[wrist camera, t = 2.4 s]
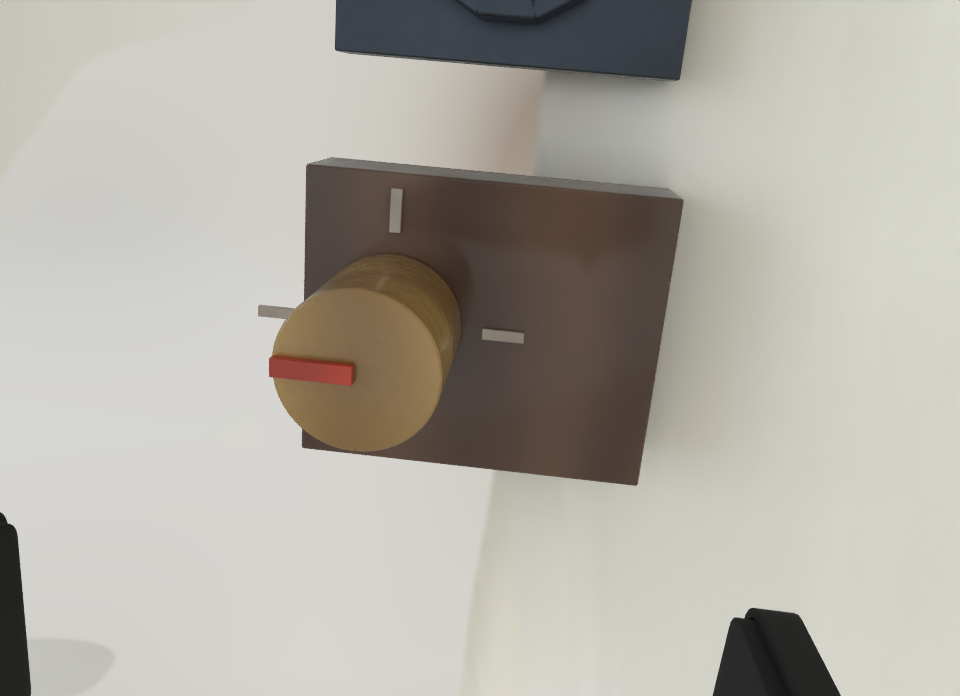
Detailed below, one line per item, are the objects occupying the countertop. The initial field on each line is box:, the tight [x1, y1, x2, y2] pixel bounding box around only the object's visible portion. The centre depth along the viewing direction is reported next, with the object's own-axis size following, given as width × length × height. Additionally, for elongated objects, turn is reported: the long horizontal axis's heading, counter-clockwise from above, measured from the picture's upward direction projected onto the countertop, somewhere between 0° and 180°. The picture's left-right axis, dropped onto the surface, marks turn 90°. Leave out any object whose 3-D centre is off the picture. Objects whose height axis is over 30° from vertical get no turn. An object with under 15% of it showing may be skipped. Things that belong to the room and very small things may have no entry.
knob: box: [269, 254, 461, 452], centre depth 24 cm, size 5×5×5 cm
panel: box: [258, 158, 684, 486], centre depth 28 cm, size 14×10×3 cm
